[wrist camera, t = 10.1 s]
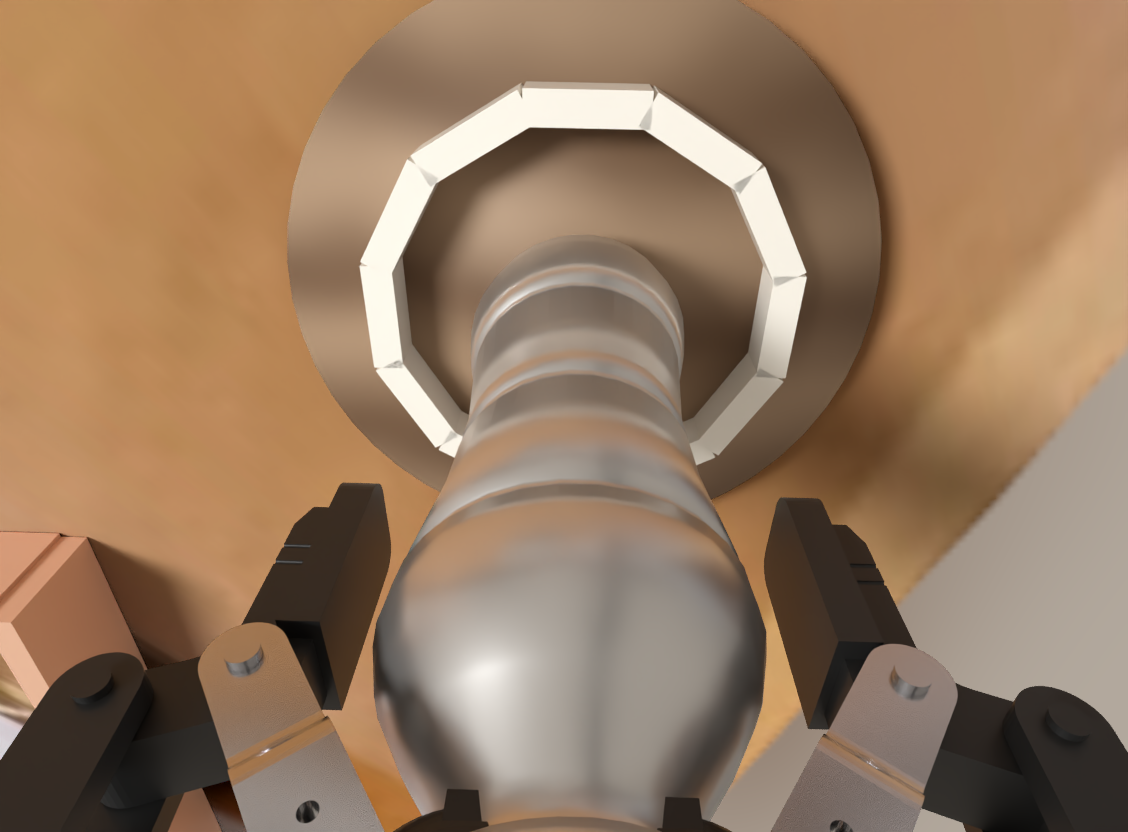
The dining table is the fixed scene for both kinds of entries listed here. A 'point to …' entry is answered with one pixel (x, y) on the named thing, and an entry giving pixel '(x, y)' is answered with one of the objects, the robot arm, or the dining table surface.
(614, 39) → the round tan coaster
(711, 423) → the ring
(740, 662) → the plastic bottle
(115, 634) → the peach open square frame
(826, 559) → the robot arm
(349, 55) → the dining table surface
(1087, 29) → the dining table surface
